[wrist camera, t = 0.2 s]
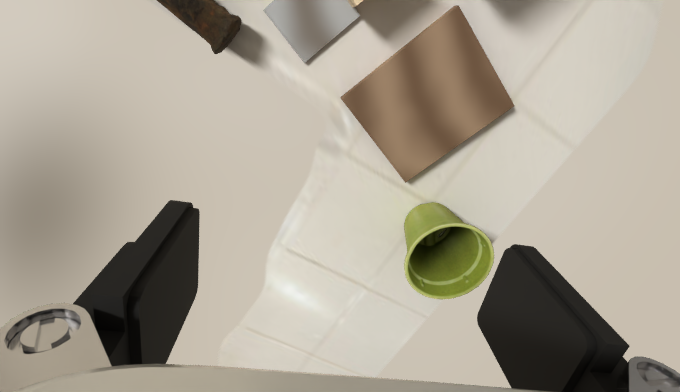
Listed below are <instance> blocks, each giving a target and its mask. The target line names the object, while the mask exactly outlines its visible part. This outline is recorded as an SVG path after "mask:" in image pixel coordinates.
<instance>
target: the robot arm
mask: <svg viewBox="0 0 680 392" xmlns="http://www.w3.org/2000/svg"><path fill="white" fill-rule="evenodd" d="M198 258H199V209H196V208H193V205H192V203H189V202H181V201H173V200H170V201H169V202H168V203H167V204H166V205H165V207H164V208H163V209H162V210H161V211H160V213H159V214H158V215H157V216H156V217H155V219H154V220H153V221H152V222H151V224H150V225H149V226H148V227H147V228H146V229H145V231H144V232H143V233H142V234H141V235H140V237H139V238H138V239H137V240H136V241H135V242H127V243H126V244H125V245H124V246H123V247H122V248H121V249H120V251H119V252H118V253H117V254H116V255H115V256H114V257H113V258H112V260H111V261H110V262H109V263H108V264H107V265H106V266H105V268H104V269H103V270H102V271H101V272H100V273H99V275H98V276H97V277H96V278H95V279H94V280H93V282H92V283H91V284H90V285H89V286H88V287H87V288H86V290H85V291H84V292H83V293H82V294H81V295H80V296H79V298H78V299H77V300H76V301H75V302H74V303H73V304H68V303H57V304H49V305H44V306H40V307H36V308H33V309H31V310H28V311H26V312H23V313H21V314H20V315H18V316H16V317H14V318H12V319H11V320H10V321H9V322H7V323H6V324H5V325H4V326H3V327H1V329H0V392H680V374H679V373H678V372H676V371H675V370H673V369H671V368H670V367H668V366H666V365H664V364H662V363H660V362H658V361H655V360H653V359H650V358H646V357H634V358H631V359H630V360H629V362H627V361H626V360H625V359H624V358H623V357H622V356H623V355H624V353H625V352H626V350H627V349H628V348H629V345H628V344H627V343H626V342H625V341H624V340H623V339H622V338H621V337H620V336H619V335H618V334H617V332H615V331H614V329H613V328H612V327H611V326H610V325H609V324H608V323H607V322H606V321H605V320H604V319H603V318H602V317H601V316H600V315H599V314H598V313H597V312H596V311H595V310H594V309H593V308H592V307H591V306H590V304H589V303H588V302H586V300H585V299H584V298H583V297H582V296H581V295H580V294H579V293H578V292H577V291H576V290H575V289H574V288H573V287H572V286H571V285H570V284H569V283H568V282H567V281H566V280H565V279H564V278H563V276H562V275H561V274H560V273H559V272H558V271H557V270H556V269H555V268H554V267H553V266H552V265H551V264H550V263H549V262H548V261H547V260H546V259H545V258H544V257H543V256H542V255H541V254H540V253H539V252H538V251H537V249H536V248H534V247H531V246H524V245H516V244H515V245H512V246H511V247H510V248H508V249H506V250H505V251H504V254H503V256H502V258H501V261H500V263H499V265H498V268H497V270H496V272H495V275H494V277H493V279H492V282H491V284H490V286H489V289H488V291H487V293H486V296H485V298H484V301H483V303H482V305H481V308H480V310H479V312H478V317H477V321H478V325H479V327H480V329H481V331H482V333H483V335H484V337H485V338H486V340H487V342H488V344H489V346H490V348H491V350H492V352H493V353H494V356H495V357H496V359H497V361H498V363H499V365H500V367H501V368H502V371H503V373H504V374H505V376H506V378H507V380H508V382H509V384H510V386H511V388H501V387H488V386H476V385H464V384H451V383H438V382H424V381H413V380H399V379H386V378H373V377H360V376H346V375H332V374H318V373H304V372H290V371H276V370H263V369H249V368H235V367H221V366H200V365H174V364H173V365H172V364H166V362H167V360H168V357H169V355H170V353H171V351H172V348H173V346H174V344H175V342H176V339H177V337H178V335H179V333H180V330H181V328H182V326H183V324H184V321H185V319H186V317H187V315H188V313H189V310H190V308H191V306H192V304H193V301H194V299H195V296H196V293H197V288H198Z"/></svg>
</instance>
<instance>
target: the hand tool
mask: <svg viewBox="0 0 680 392" xmlns="http://www.w3.org/2000/svg"><path fill="white" fill-rule="evenodd" d="M157 1H158V2H160V3H161V4H162V5H163V6H164V7H166V8H167V9H168V10H169V11H170V12H172V13H173V14H174V15H175V16H176V17H178V18H179V19H180V20H181V21H182V22H184V23H185V24H186V25H187V26H189V27H190V28H191V29H192V30H194V31H195V32H196V33H197V34H199V35H200V36H201V37H202V38H204V39H205V40H206V41H207V42H208V43H209V44H210V45H211V48H212V51H213V52H214V54H218V53H220V52H222V51H223V50H224V49H225V48H226V47H227V46H228V44H229V43H230V42H231V41H232V39H233V38H234V37H235V35H236V34H237V32H238V31H239V29H240V25H241V19H240V17H239V16H235V15H231V14H229V13H228V11H227V10H226V8H225V7H222V6H219V5H217V4H216V3H215V1H214V0H157Z"/></svg>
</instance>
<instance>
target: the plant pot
mask: <svg viewBox="0 0 680 392" xmlns="http://www.w3.org/2000/svg"><path fill="white" fill-rule="evenodd" d="M444 229H445V233H444V234H443V235H442V236H440V237H438V235H440V234H441V233H442V232H443V231H444ZM404 230H405V237H406V244H407V255H406V258H405V264H404V270H405V275H406V278H407V281H408V282H409V284H410V285H411V287H412V288H413V289H414V290H415V291H417V292H418V293H420V294H422V295H424V296H426V297H429V298H434V299H451V298H456V297H459V296H462V295H464V294H467V293H469V292H470V291H472V290H473V289H475V288H476V287H478V286H479V285H480V284H481V283H482V282H483V281H484V280H485V278H486V277H487V276H488V274H489V272H490V270H491V268H492V265H493V261H494V250H493V246H492V244H491V241H490V240H489V238H488V237H487V236H486V235H485V234H484V233H483V232H482V231H481V230H479V229H478V228H476V227H474V226H472V225H468V224H465V223H463V222H462V221H461V220H460V219H459V218H458V217H456V216H455V215H454V214H453V213H452V212H451V211H450V210H449V209H448V208H446V207H445V206H444V205H441V204H439V203H434V202H432V203H427V204H421V205H418V206H417V207H415V208H414V209H412V210H411V211H410V213H409V214H408V215H407V217H406V220H405V223H404Z"/></svg>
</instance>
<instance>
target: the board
mask: <svg viewBox="0 0 680 392" xmlns="http://www.w3.org/2000/svg"><path fill="white" fill-rule="evenodd" d="M341 99H342V100H343V102H344V103H345V104H346V106H347V107H348V108H349V109H350V111H351V112H352V113H353V115H354V116H355V117H356V119H357V120H358V121H359V122H360V124H361V125H362V126H363V128H364V129H365V130H366V132H367V133H368V134H369V136H370V137H371V138H372V139H373V141H374V142H375V143H376V145H377V146H378V147H379V149H380V150H381V151H382V152H383V154H384V155H385V156H386V158H387V159H388V160H389V162H390V163H391V164H392V165H393V167H394V168H395V169H396V171H397V172H398V173H399V175H400V176H401V177H402V179H403V180H404V181H405V182H407V181H408V180H410V179H411V178H412V177H414V176H415V175H417V174H418V173H420V172H421V171H422V170H424V169H425V168H427V167H428V166H430V165H431V164H432V163H434V162H435V161H437V160H438V159H440V158H441V157H442V156H444V155H445V154H447V153H448V152H450V151H451V150H452V149H454V148H455V147H457V146H458V145H459V144H461V143H462V142H464V141H465V140H467V139H468V138H469V137H471V136H472V135H474V134H475V133H477V132H478V131H479V130H481V129H482V128H484V127H485V126H487V125H488V124H489V123H491V122H492V121H494V120H495V119H496V118H498V117H499V116H501V115H502V114H504V113H505V112H506V111H508V110H509V109H511V108H512V107H514V104H513V102H512V101H511V99H510V97H509V95H508V93H507V92H506V90H505V88H504V86H503V84H502V83H501V81H500V79H499V77H498V75H497V74H496V72H495V70H494V68H493V66H492V65H491V63H490V61H489V59H488V58H487V56H486V54H485V52H484V50H483V49H482V47H481V45H480V43H479V41H478V40H477V38H476V36H475V34H474V32H473V31H472V29H471V27H470V25H469V23H468V22H467V20H466V18H465V16H464V15H463V13H462V11H461V9H460V7H459V6H454V7H453V8H451V9H450V10H449V11H448V12H446V13H445V14H444V15H443V16H441V17H440V18H439V19H438V20H436V21H435V22H434V23H433V24H431V25H430V26H429V27H428V28H426V29H425V30H424V31H423V32H421V33H420V34H419V35H418V36H416V37H415V38H414V39H413V40H411V41H410V42H409V43H408V44H406V45H405V46H404V47H403V48H401V49H400V50H399V51H398V52H396V53H395V54H394V55H393V56H391V57H390V58H389V59H388V60H386V61H385V62H384V63H383V64H381V65H380V66H379V67H378V68H376V69H375V70H374V71H373V72H372V73H370V74H369V75H368V76H367V77H365V78H364V79H363V80H362V81H360V82H359V83H358V84H357V85H355V86H354V87H353V88H352V89H350V90H349V91H348V92H347V93H345V94H344V95H343V96H342V97H341Z"/></svg>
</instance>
